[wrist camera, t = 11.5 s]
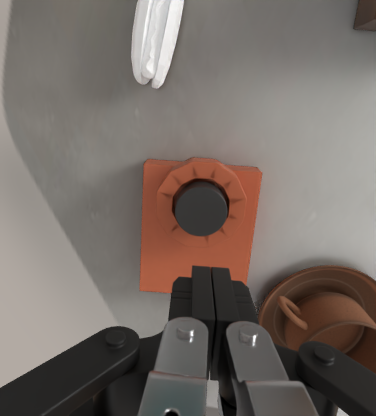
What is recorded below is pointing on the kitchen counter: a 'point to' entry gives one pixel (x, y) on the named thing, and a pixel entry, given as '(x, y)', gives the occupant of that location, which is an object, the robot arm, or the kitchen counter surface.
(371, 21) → the dimmer panel
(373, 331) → the cup and saucer
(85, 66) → the kitchen counter surface
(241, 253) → the switch block
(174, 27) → the sub sandwich
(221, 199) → the lamp switch
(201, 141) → the kitchen counter surface
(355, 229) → the kitchen counter surface
